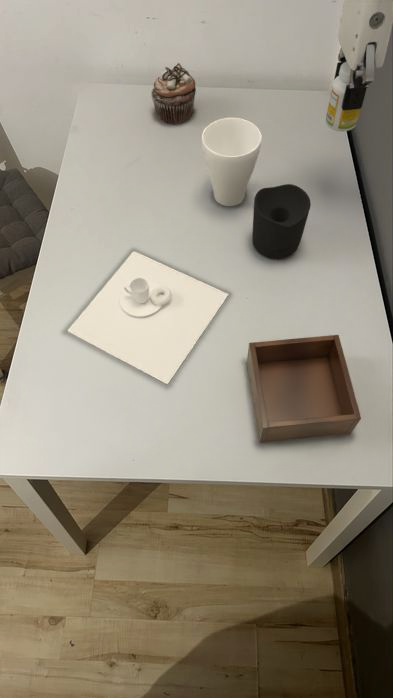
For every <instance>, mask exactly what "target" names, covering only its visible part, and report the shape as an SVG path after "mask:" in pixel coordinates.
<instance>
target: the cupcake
mask: <svg viewBox="0 0 393 698" xmlns="http://www.w3.org/2000/svg"><path fill="white" fill-rule="evenodd" d="M196 93H197V88H196V81H195V79H194V78H193V76H192V75H191V74H190V73H189V71H188V70H187V69H185V68H184V67H183V66H182V65H181V63H180V62H177V63H175V65H174V66H173V68H172V69H171V68H170V67H167V66H165V69H164V71H163V70H162V72H161V73H160V74H159V76H158V77H157V78H156V79H155V80H154V82H153V88H152V89H151V92H150V96H151V101H152V102H153V106H154V109H155V113H156V115H157V119H159V120H160V121H161V122H163V123H165V124H169V125H177V124H182V123H183V122H186V121H187V120H189V119H190V118H191V117H192V115H193V109H194V103H195V98H196Z"/></svg>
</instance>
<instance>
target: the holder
mask: <svg viewBox="0 0 393 698" xmlns="http://www.w3.org/2000/svg"><path fill="white" fill-rule="evenodd" d="M246 367H247V372H248V379H249V385H250V392H251V398H252V405H253V410H254V418H255V424H256V429H257V435H258V442H259V443H261V444H262V443H269V442H271V443H272V442H279V441H291V440H301V439H312V438H322V437H333V436H343V435H351V434H352V433H353V431H354V429H355V428H356V427H357V426H358V424H359V423H360V422H361V420H362V417H361V412H360V409H359V405H358V401H357V398H356V393H355V390H354V387H353V382H352V379H351V375H350V371H349V368H348V365H347V361H346V356H345V353H344V350H343V346H342V342H341V339H340V335H339V334H330V335H320V336H319V335H318V336H307V337H296V338H287V339H276V340H275V339H274V340H265V341H255V342H253V341H252V342H248V349H247V354H246Z"/></svg>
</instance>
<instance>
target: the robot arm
mask: <svg viewBox="0 0 393 698" xmlns="http://www.w3.org/2000/svg"><path fill="white" fill-rule="evenodd" d="M339 20H340V21H339V26H338V35H337V37H338V43H339V45H340V48H339V52H338V55H337V61H338V62H337V63H336V68H335V73H334V79H333V81H334V80H335V78H336V77H337V76H339V71H340V67H341V65H342V64H343V63H344V62H347V63H348V65H349V67H350V68H351V71H350V80H349V85H346V89H345V94H344V98H343V103H342V110H354V109H361V110H362V107H363V104H364V101H365V97H366V93H367V89H368V88H369V85H370V84H371V83H373V82H374V80H375V69H381V68H382V67H383V65H384V63H385V58H386V55H387V51H388V47H389V41H390V38H391V33H392V29H393V0H344V2H343V5H342V10H341V16H340V19H339ZM360 62H361V63H363V64H359V63H360ZM357 64H359V65H357ZM360 70H363V74H362V75H361V76H358V77H357V78H356V71H360ZM355 78H356V79H355Z"/></svg>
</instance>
